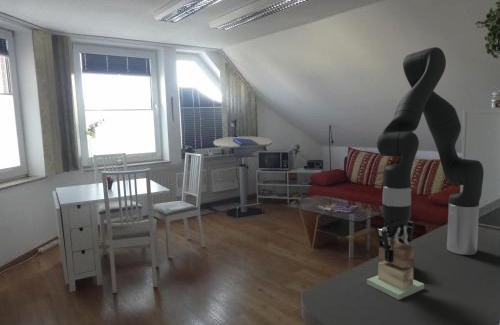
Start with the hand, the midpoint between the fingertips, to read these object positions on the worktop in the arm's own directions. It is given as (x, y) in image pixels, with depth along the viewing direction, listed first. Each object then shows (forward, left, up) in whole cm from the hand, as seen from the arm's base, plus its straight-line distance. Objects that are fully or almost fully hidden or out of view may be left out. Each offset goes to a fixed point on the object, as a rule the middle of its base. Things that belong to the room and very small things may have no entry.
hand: (395, 259), depth 102 cm
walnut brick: (0, 0, -1) cm, 1 cm away
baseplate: (0, 0, -8) cm, 8 cm away
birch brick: (0, 0, -7) cm, 7 cm away
